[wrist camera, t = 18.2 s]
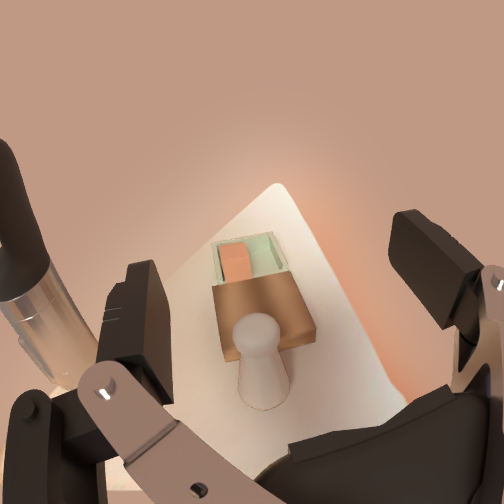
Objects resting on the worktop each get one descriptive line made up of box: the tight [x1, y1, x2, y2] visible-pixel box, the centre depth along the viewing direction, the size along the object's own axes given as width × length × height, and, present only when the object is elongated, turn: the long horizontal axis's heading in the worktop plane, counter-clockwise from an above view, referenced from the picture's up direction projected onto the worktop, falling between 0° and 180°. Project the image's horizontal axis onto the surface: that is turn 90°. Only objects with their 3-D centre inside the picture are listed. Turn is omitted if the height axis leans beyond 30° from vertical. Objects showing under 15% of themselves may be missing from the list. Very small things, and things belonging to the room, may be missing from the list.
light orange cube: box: [220, 243, 252, 283], centre depth 49 cm, size 4×4×4 cm
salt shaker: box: [233, 313, 289, 411], centre depth 31 cm, size 6×6×13 cm
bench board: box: [212, 271, 316, 362], centre depth 44 cm, size 12×12×3 cm
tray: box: [211, 232, 289, 285], centre depth 54 cm, size 11×10×4 cm
